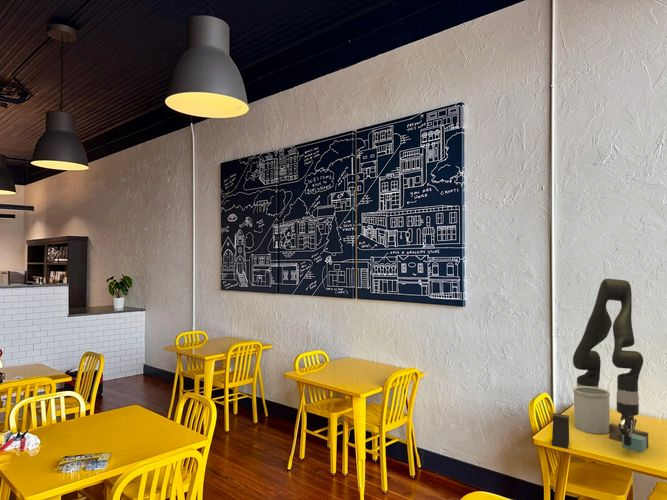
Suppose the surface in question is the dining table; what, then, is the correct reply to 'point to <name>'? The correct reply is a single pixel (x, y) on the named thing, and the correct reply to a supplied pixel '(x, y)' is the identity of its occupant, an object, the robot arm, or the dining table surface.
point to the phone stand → (560, 431)
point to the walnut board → (616, 434)
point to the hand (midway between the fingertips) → (627, 445)
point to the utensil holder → (591, 409)
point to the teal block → (636, 443)
